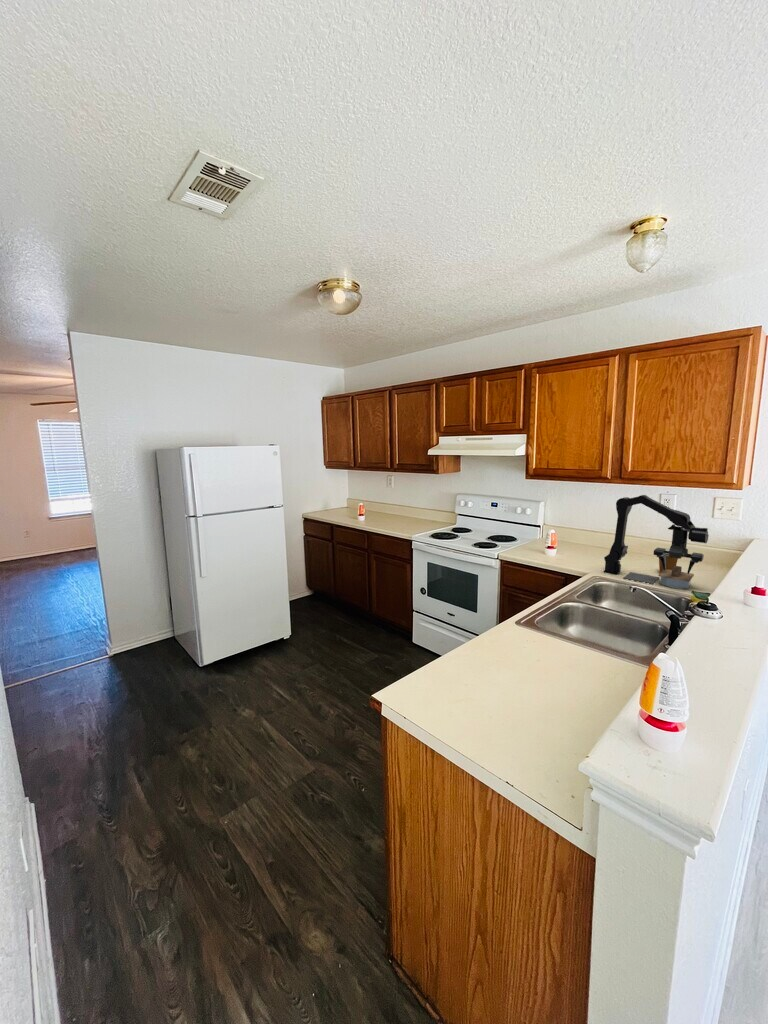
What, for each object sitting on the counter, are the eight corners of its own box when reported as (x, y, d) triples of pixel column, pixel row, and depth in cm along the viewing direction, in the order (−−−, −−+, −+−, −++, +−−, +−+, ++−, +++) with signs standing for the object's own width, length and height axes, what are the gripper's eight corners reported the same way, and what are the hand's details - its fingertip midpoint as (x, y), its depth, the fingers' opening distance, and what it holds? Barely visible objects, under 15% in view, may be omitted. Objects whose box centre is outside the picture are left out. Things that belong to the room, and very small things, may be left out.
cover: (658, 576, 197) (659, 568, 197) (663, 570, 206) (664, 563, 205) (689, 581, 189) (690, 573, 189) (693, 575, 198) (694, 567, 197)
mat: (623, 578, 208) (623, 577, 208) (630, 573, 217) (630, 572, 217) (653, 584, 199) (653, 583, 199) (659, 578, 208) (659, 577, 208)
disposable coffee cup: (681, 576, 212) (683, 553, 210) (660, 575, 214) (662, 552, 212) (672, 570, 221) (674, 548, 219) (652, 569, 223) (654, 547, 221)
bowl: (658, 585, 198) (659, 576, 197) (663, 580, 206) (664, 571, 205) (686, 590, 191) (687, 581, 190) (691, 585, 198) (692, 575, 198)
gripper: (652, 539, 196) (649, 571, 198) (701, 545, 183) (697, 580, 185) (657, 536, 204) (654, 566, 206) (705, 541, 191) (701, 574, 193)
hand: (676, 572), depth 197 cm, fingers open, 9 cm apart
